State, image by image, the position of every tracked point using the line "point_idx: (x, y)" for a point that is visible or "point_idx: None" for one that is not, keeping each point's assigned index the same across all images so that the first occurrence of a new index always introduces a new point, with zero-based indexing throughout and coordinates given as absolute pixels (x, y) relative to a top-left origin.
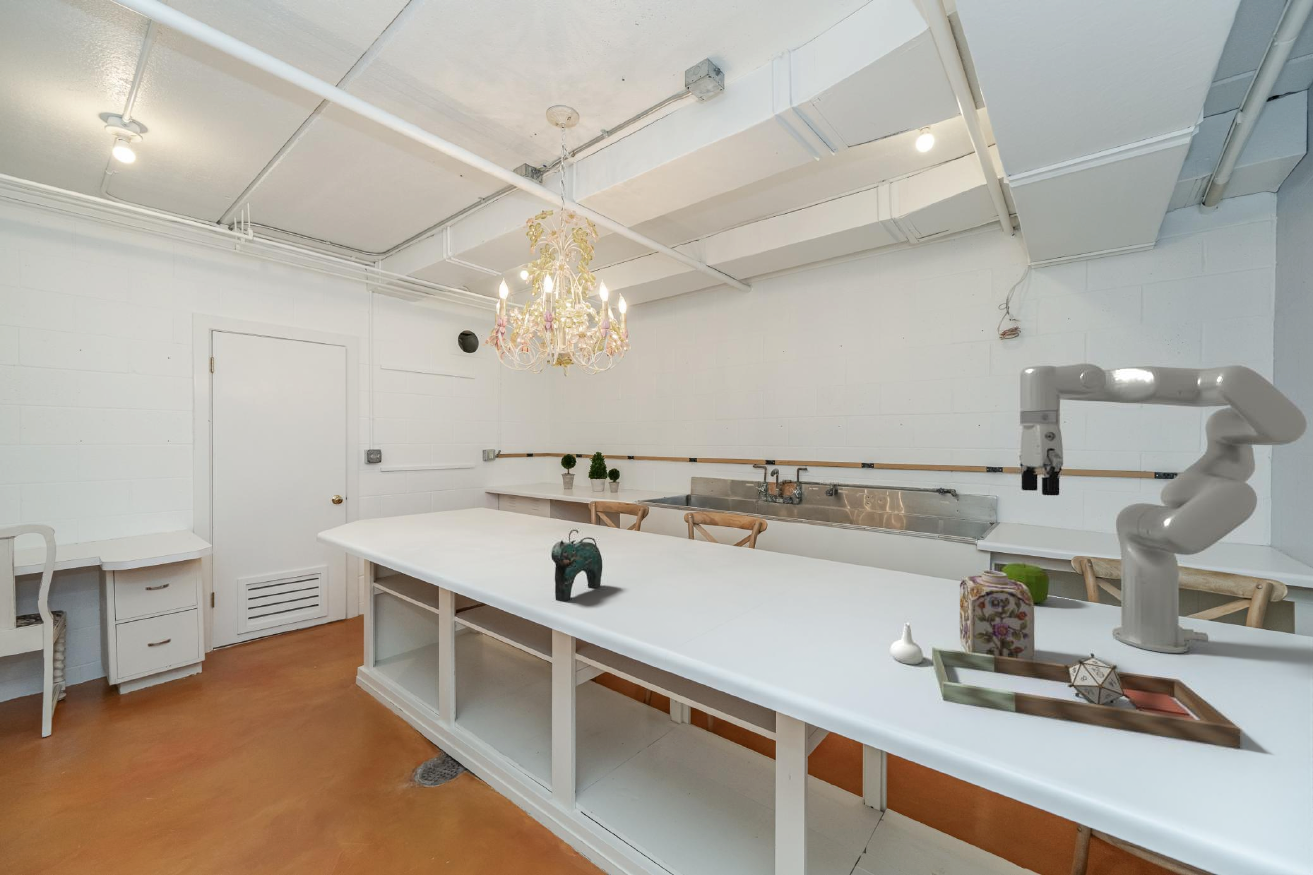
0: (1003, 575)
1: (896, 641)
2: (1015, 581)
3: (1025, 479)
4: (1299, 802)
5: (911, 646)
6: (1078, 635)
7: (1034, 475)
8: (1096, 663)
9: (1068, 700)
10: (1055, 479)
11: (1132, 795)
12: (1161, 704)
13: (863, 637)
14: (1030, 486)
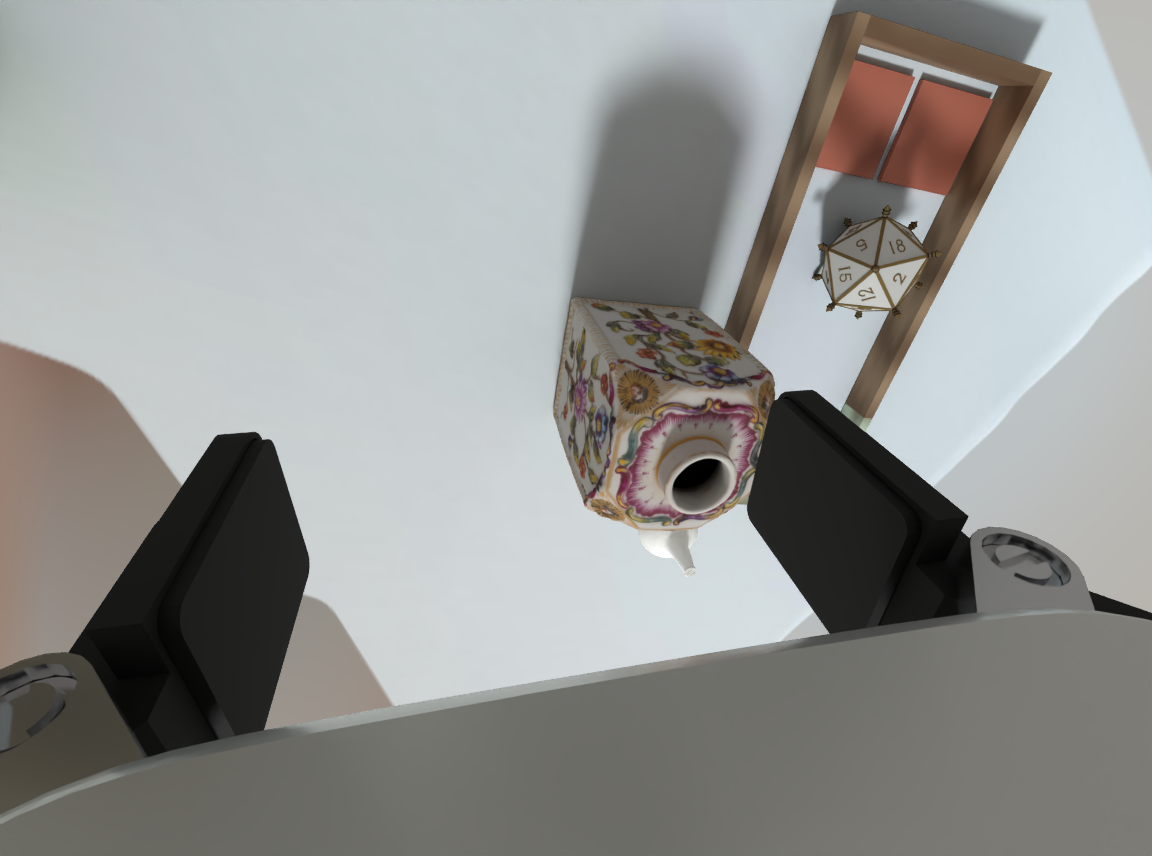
0: (734, 469)
1: (666, 556)
2: (684, 407)
3: (273, 668)
4: (1125, 115)
5: (691, 537)
6: (403, 23)
7: (202, 638)
8: (905, 279)
9: (903, 343)
10: (962, 550)
11: (1040, 340)
12: (873, 113)
13: (567, 579)
14: (282, 535)
